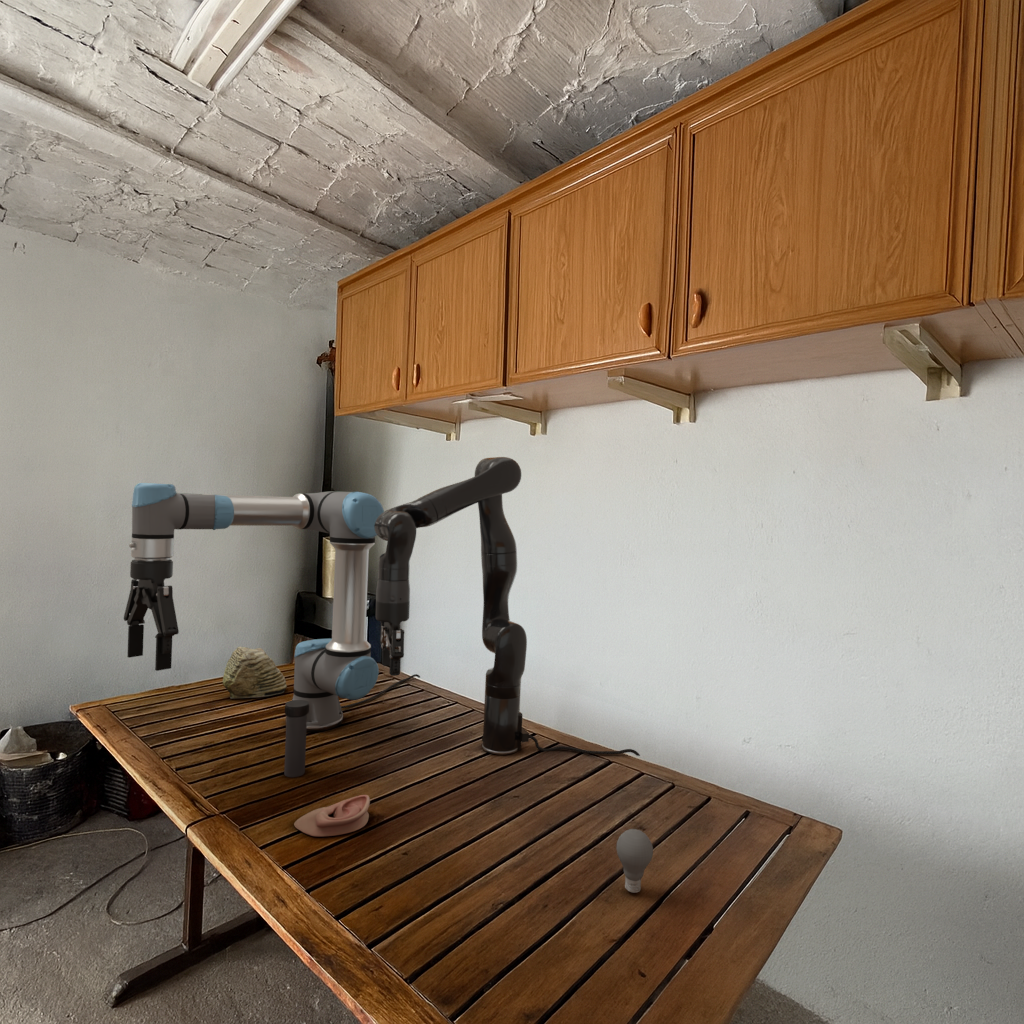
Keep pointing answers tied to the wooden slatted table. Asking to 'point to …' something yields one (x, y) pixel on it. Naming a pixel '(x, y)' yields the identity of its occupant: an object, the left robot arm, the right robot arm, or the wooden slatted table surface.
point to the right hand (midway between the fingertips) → (390, 670)
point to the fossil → (252, 674)
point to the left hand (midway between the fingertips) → (148, 662)
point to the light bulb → (634, 857)
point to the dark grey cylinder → (295, 746)
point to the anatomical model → (336, 818)
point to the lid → (296, 708)
